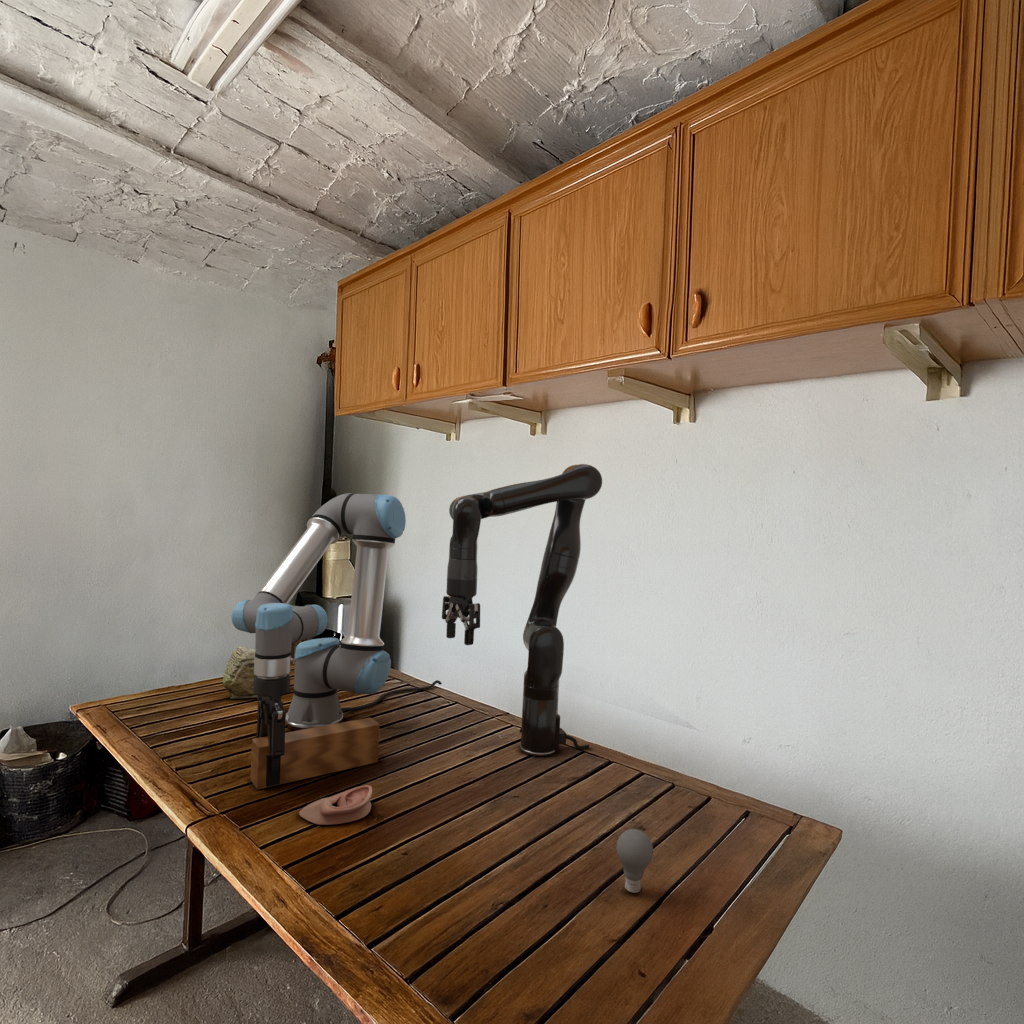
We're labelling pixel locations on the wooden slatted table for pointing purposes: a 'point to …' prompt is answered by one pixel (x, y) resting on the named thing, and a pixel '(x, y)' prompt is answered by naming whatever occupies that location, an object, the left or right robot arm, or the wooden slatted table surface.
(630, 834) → the light bulb
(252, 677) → the fossil
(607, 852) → the wooden slatted table surface
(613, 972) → the wooden slatted table surface
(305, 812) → the anatomical model
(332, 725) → the bar
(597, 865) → the wooden slatted table surface
